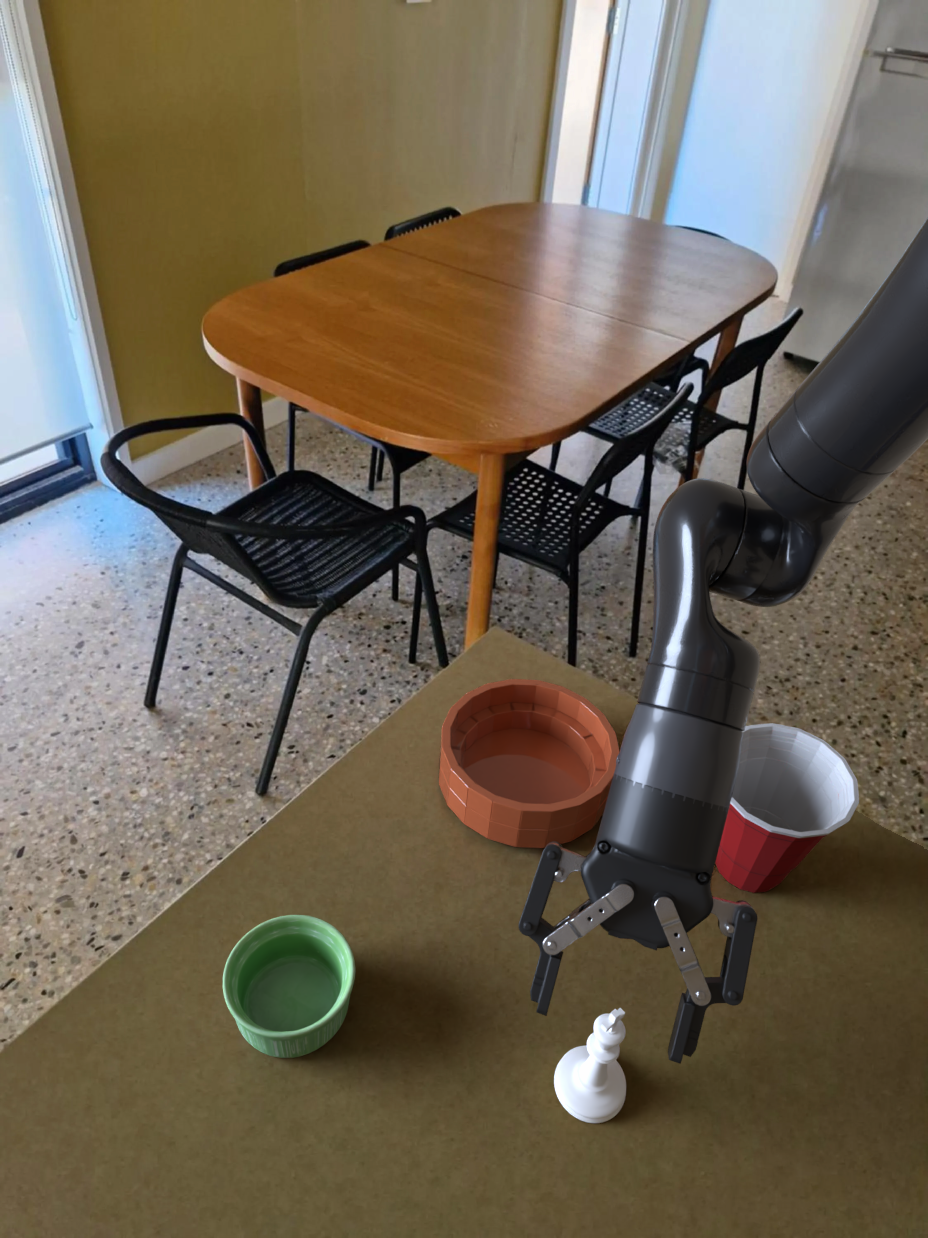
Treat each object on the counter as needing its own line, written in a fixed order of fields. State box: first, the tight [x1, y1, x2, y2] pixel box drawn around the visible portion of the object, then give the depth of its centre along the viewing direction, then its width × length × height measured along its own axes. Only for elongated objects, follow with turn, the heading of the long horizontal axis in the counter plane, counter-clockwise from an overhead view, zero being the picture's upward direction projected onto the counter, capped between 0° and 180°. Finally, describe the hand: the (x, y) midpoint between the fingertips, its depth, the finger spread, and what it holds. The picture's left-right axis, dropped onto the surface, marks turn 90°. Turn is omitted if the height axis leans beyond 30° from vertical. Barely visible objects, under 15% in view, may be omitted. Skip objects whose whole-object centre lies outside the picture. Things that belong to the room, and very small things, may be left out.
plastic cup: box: [715, 722, 860, 894], centre depth 72 cm, size 11×11×12 cm
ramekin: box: [222, 914, 356, 1059], centre depth 62 cm, size 9×9×4 cm
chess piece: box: [553, 1007, 627, 1124], centre depth 58 cm, size 5×5×10 cm
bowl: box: [438, 678, 620, 849], centre depth 80 cm, size 16×16×6 cm
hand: (607, 1034), depth 56 cm, fingers open, 8 cm apart
